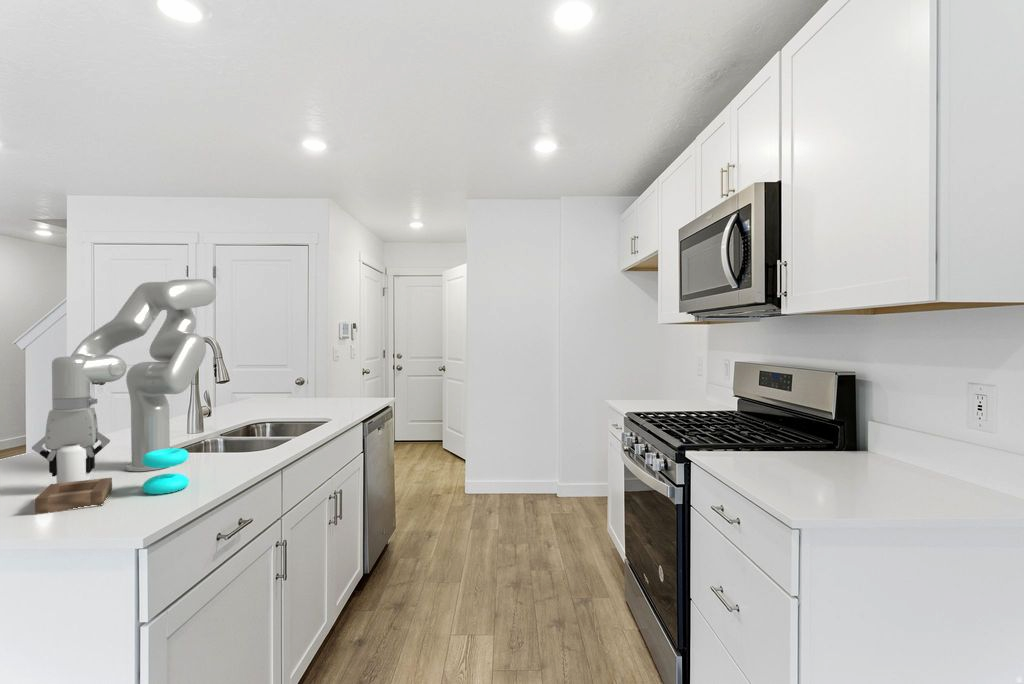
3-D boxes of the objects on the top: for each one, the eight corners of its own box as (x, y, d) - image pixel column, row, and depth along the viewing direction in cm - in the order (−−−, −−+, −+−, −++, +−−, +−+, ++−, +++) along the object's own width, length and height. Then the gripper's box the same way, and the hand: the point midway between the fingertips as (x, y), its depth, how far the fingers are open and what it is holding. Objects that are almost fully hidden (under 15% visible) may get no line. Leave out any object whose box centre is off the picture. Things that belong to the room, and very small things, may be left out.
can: (69, 485, 137) (68, 440, 137) (95, 485, 138) (95, 440, 137) (49, 493, 131) (49, 446, 130) (77, 492, 131) (76, 445, 131)
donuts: (183, 454, 131) (136, 457, 127) (184, 493, 131) (137, 498, 128) (192, 446, 140) (148, 448, 137) (192, 482, 141) (149, 486, 137)
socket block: (112, 490, 133) (111, 477, 133) (102, 505, 122) (102, 491, 122) (50, 498, 127) (50, 484, 127) (35, 514, 116) (34, 499, 116)
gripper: (115, 400, 141) (116, 466, 141) (31, 404, 133) (32, 474, 133) (110, 404, 135) (111, 472, 135) (22, 408, 126) (23, 481, 126)
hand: (72, 472), depth 134 cm, fingers closed on can, 6 cm apart
